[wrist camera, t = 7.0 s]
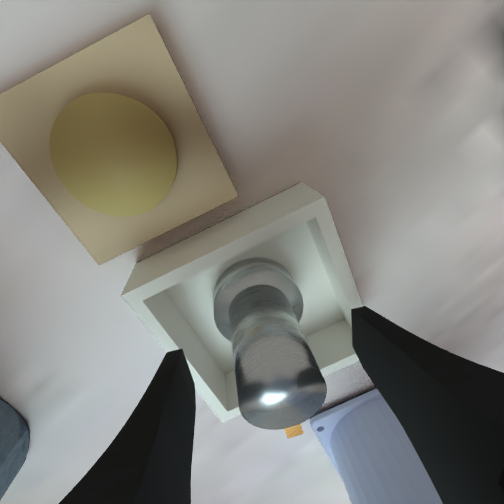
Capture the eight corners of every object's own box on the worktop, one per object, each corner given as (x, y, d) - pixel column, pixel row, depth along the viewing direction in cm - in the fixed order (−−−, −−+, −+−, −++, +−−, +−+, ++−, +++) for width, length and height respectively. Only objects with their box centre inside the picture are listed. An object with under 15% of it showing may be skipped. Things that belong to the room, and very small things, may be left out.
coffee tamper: (285, 246, 15) (336, 328, 9) (302, 315, 17) (353, 420, 11) (201, 272, 15) (197, 371, 9) (227, 338, 17) (238, 456, 11)
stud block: (236, 191, 14) (240, 200, 12) (105, 256, 14) (93, 273, 13) (154, 22, 11) (145, 5, 9) (-8, 109, 11) (-44, 107, 10)
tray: (353, 317, 18) (379, 351, 15) (219, 378, 19) (222, 422, 16) (302, 181, 14) (324, 196, 12) (135, 263, 15) (120, 296, 12)
